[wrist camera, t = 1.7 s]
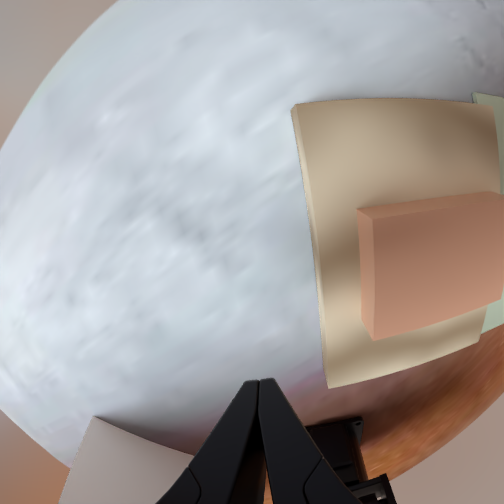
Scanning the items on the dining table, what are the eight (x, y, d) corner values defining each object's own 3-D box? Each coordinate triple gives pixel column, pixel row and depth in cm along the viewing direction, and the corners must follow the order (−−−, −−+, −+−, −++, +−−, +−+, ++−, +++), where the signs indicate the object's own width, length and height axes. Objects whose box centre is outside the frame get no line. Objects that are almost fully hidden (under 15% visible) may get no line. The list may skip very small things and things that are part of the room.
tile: (483, 285, 14) (500, 299, 12) (361, 319, 14) (372, 341, 12) (490, 191, 12) (513, 198, 10) (356, 209, 12) (372, 218, 11)
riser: (465, 327, 17) (478, 341, 15) (323, 368, 18) (328, 388, 16) (472, 107, 12) (492, 106, 10) (290, 110, 13) (295, 104, 11)
